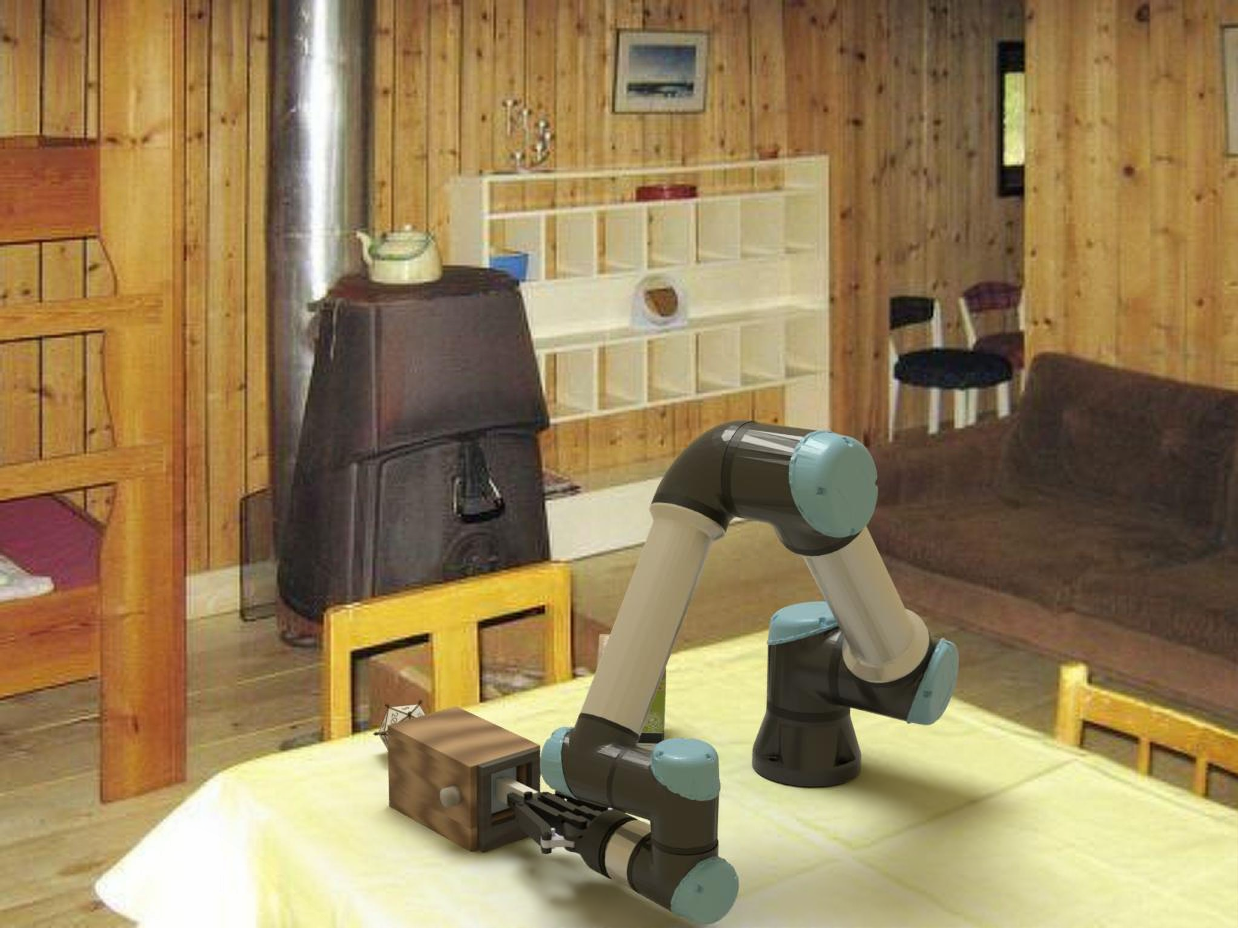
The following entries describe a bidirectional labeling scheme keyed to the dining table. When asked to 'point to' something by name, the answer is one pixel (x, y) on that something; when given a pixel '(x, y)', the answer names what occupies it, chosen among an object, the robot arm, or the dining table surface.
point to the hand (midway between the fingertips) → (501, 787)
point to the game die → (398, 717)
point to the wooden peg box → (458, 775)
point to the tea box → (656, 715)
